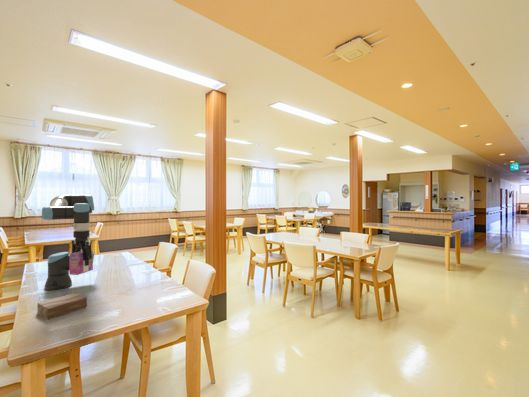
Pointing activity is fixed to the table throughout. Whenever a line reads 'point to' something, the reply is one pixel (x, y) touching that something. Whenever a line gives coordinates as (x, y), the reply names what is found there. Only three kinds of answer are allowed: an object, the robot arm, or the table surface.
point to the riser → (62, 305)
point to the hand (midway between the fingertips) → (81, 270)
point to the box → (78, 263)
